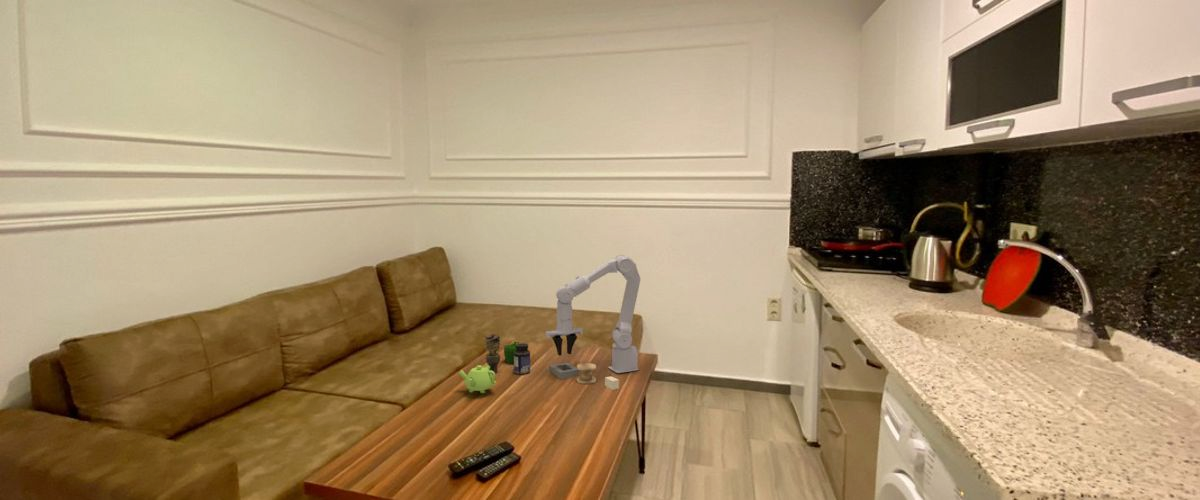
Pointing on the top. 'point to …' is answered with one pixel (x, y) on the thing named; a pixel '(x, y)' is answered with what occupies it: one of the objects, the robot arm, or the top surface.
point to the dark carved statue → (492, 351)
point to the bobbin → (586, 373)
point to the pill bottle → (522, 359)
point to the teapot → (479, 379)
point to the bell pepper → (510, 352)
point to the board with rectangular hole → (567, 373)
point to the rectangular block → (612, 383)
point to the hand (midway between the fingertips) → (564, 354)
